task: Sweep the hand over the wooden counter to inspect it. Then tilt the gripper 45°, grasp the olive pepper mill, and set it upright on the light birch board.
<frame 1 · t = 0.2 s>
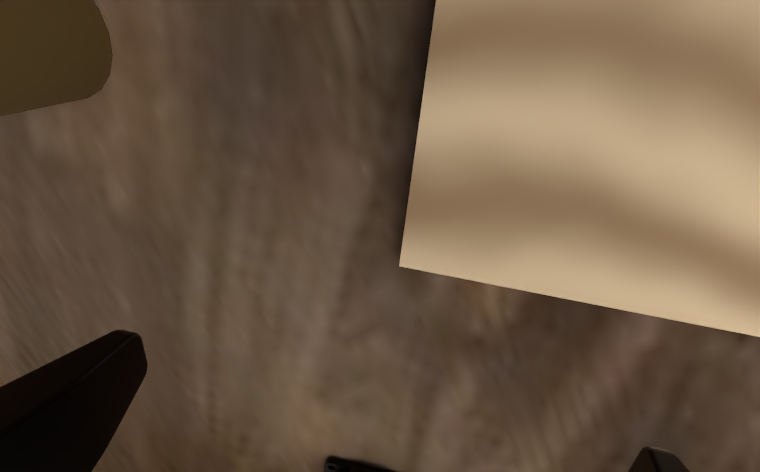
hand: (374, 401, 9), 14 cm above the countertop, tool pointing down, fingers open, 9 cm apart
birch board: (652, 67, 18), on the countertop
olive pepper mill: (52, 31, 22), on the countertop
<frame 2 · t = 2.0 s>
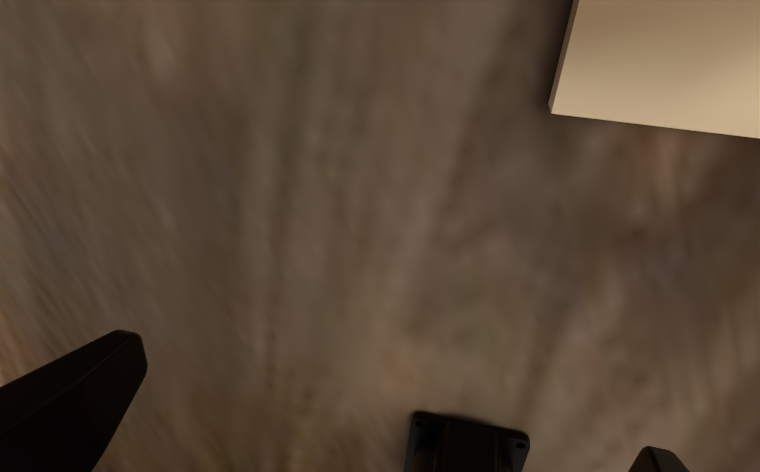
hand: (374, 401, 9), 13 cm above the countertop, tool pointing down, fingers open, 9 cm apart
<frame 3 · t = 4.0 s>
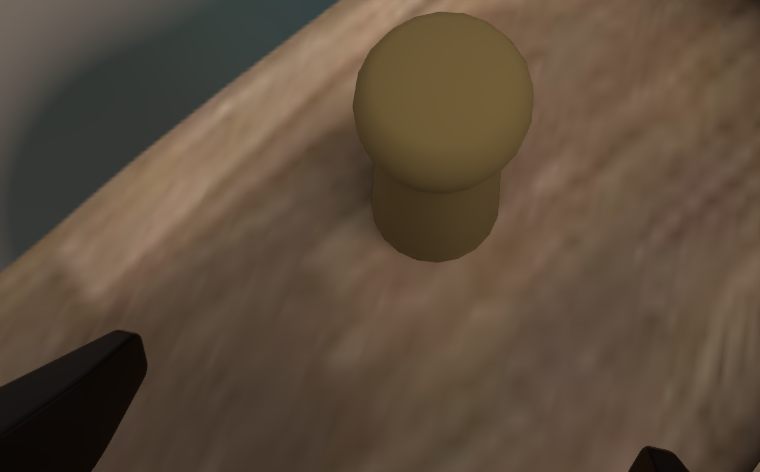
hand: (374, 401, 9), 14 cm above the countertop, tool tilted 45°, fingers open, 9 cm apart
olive pepper mill: (434, 201, 24), on the countertop
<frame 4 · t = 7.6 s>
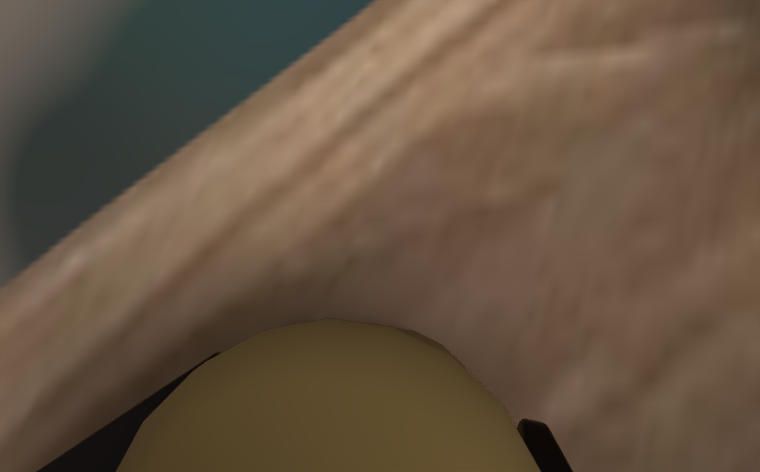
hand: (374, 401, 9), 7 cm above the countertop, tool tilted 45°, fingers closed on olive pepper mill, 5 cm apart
olive pepper mill: (386, 428, 15), on the countertop, touching gripper
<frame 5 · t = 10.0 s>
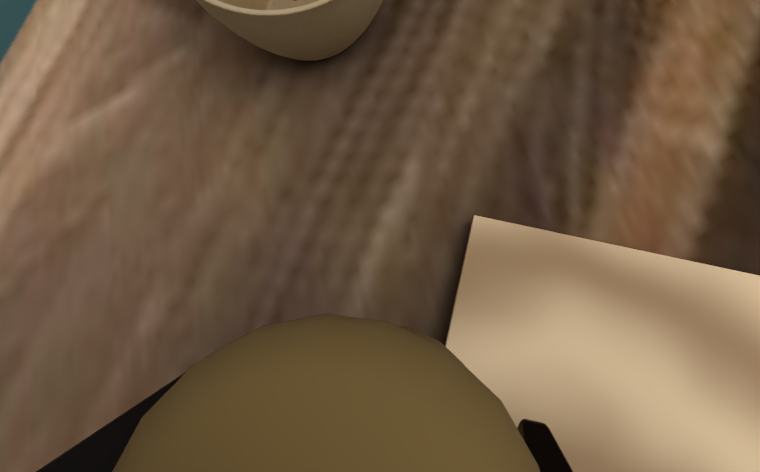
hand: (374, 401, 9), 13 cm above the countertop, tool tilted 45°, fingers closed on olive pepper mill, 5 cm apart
olive pepper mill: (385, 425, 15), point 6 cm above the countertop, touching gripper
cream bowl: (317, 21, 26), on the countertop
when the fingers open (9 cm above the countertop, at t = 12.6 s): olive pepper mill drops 1 cm, resting on birch board.
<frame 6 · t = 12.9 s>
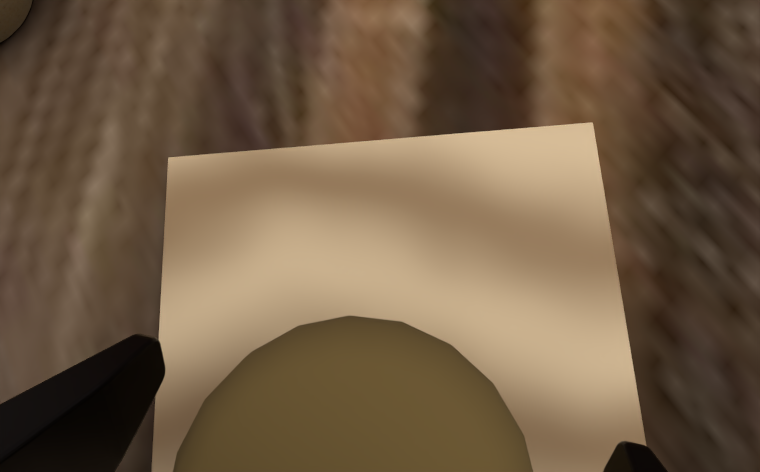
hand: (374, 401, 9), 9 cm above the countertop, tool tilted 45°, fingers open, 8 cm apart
birch board: (391, 418, 17), on the countertop
olive pepper mill: (388, 424, 16), point 1 cm above the countertop, touching birch board
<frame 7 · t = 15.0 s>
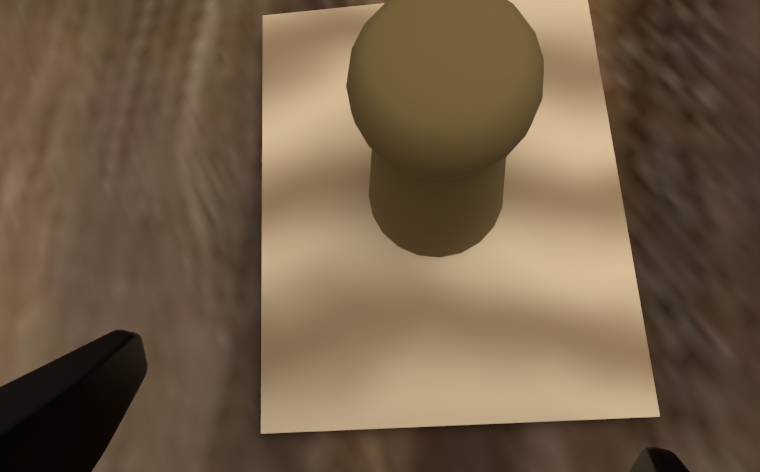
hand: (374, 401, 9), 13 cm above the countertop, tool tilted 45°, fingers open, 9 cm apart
birch board: (435, 198, 24), on the countertop
olive pepper mill: (435, 192, 23), point 1 cm above the countertop, touching birch board
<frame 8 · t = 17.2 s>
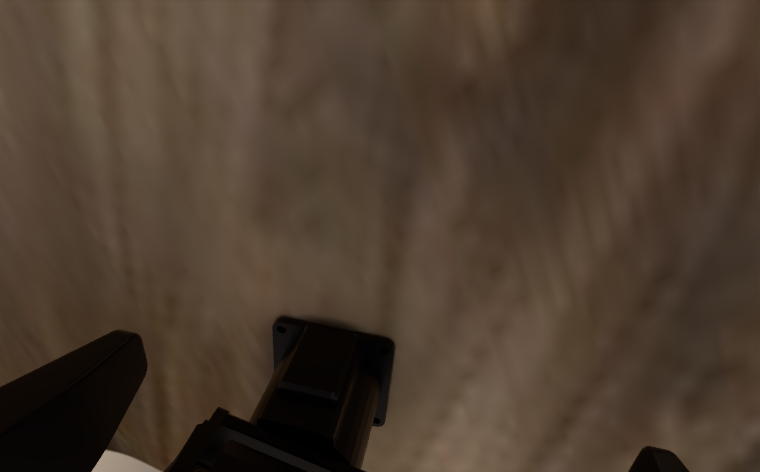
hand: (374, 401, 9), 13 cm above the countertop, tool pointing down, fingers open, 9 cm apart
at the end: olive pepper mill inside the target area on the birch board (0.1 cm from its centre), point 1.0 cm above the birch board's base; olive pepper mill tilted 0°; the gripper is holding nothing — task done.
